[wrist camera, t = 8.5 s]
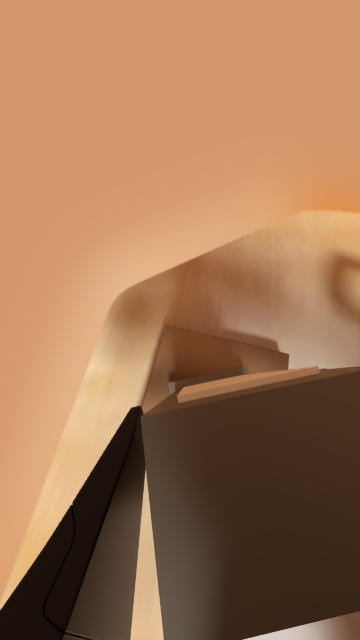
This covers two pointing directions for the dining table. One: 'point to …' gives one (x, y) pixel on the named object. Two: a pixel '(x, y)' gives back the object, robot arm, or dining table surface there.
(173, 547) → the picture frame
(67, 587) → the robot arm
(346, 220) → the dining table surface
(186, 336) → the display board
